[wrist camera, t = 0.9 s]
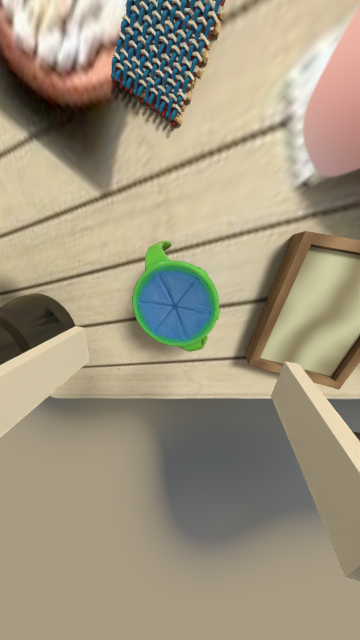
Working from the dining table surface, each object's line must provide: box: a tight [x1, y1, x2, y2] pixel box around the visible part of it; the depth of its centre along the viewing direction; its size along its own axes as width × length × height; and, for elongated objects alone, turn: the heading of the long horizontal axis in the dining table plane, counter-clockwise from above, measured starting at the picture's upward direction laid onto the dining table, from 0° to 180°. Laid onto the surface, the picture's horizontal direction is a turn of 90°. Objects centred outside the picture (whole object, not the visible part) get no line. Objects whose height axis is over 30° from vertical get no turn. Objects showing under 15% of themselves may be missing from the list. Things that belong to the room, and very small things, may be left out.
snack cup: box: [132, 241, 220, 351], centre depth 24 cm, size 16×10×10 cm
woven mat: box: [111, 0, 225, 127], centre depth 19 cm, size 10×11×2 cm
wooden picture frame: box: [245, 231, 360, 389], centre depth 24 cm, size 14×20×4 cm
